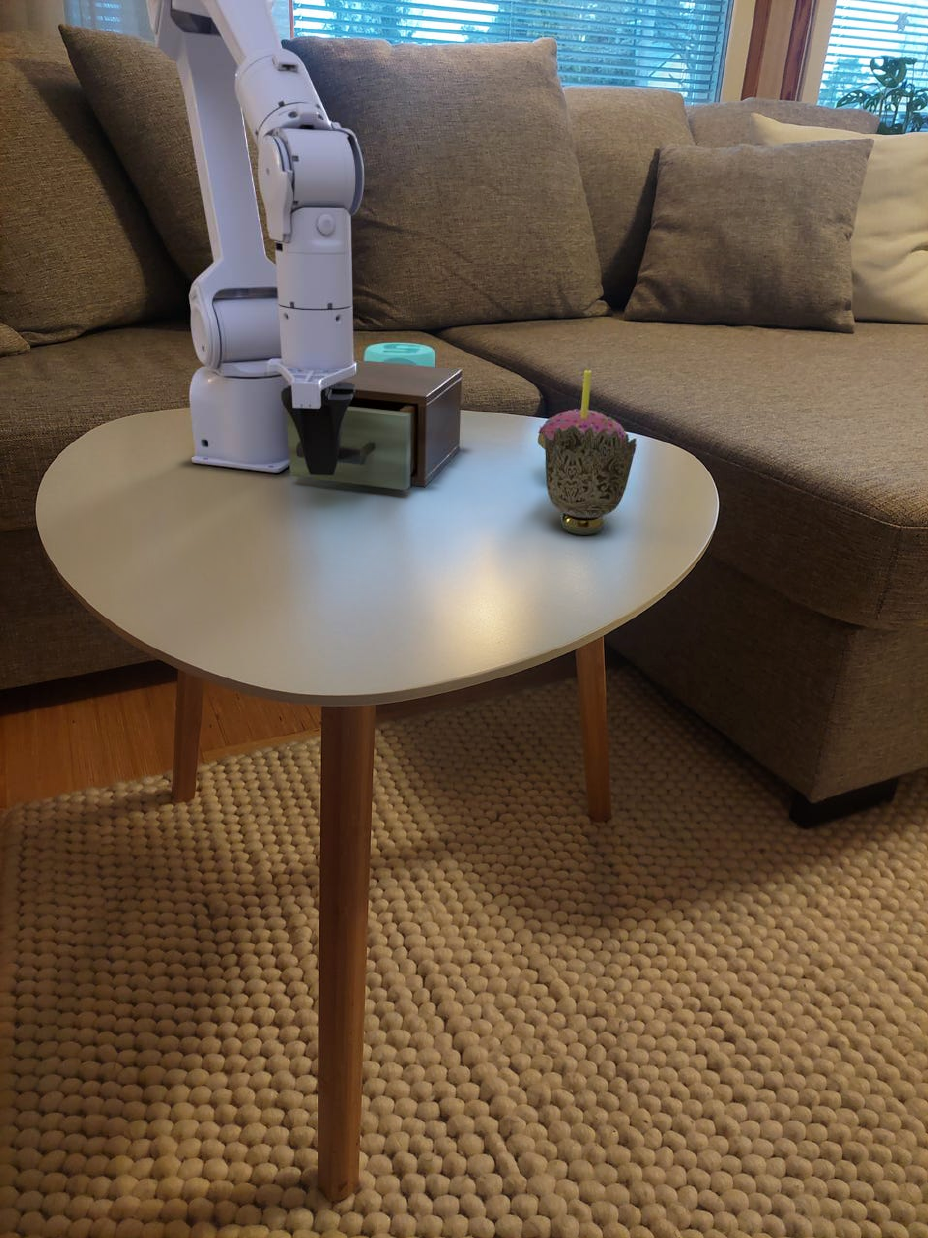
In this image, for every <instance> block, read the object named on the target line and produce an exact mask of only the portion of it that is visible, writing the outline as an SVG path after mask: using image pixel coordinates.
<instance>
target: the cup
mask: <svg viewBox="0 0 928 1238" xmlns="http://www.w3.org/2000/svg"><path fill="white" fill-rule="evenodd" d="M583 434H584V435H583ZM626 434H627V435H626V436H625V438H623V439H622V441H621V443H620V438H619V436H618V433H617V432H616V431H613V432H612V434H611V435H610V434H609V432H608V431H607V429H606V428H605V429H603V430H602V431H600V432H599V433H598V435H597V436H596V438H594V435H593V428H592V427H590V428H588V429H587V430H586V431H585V433H582V434H581V433H580V430H578V429H577V428H576V427H575V426H573V425H572V426H570V427H568V428H567V429H566V430H564V431H563V432H562V430H561V429H560V428H556V429H555V430H554V438H553V440H551V439H550V440H549V437H548V436H547V434H546V435H545V449H544V453H545V475H546V476H545V479H546V487H547V493H548V496H549V500H550V501H551V503H552V505H553V506H554V507H555V508H556V510H558V511H560V512H561V515H560V518H559V521H560V523H561V526H562V528H563V529H564V530H566V531H567V532H569V533H571V534H576V535H581V536H582V535H583V536H586V535H587V536H588V535H593V534H596V533H598V532H600V531H601V529H602V528H603V526H604V524H605V519H604V516H607V515H609V514H610V513H612V512H613V511H615V510H616V508H617V507H618V506H619V505H620V503H621V502H622V500H623V497H624V495H625V491H626V488H627V485H628V482H629V477H630V474H631V470H632V466H633V461H634V457H635V454H636V450H637V445H638V443H637V438H633V439H630V438H629V437H630V435H629V434H628V433H626Z"/></svg>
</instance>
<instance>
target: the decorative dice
mask: <svg viewBox="0 0 928 1238" xmlns="http://www.w3.org/2000/svg"><path fill="white" fill-rule="evenodd" d="M363 360H364V361H375V362H386V363H397V364H407V365H418V366H429V367H436V352H435V350H434V349H433V348H432V347H430V346H428V345H425V344H418V343H413V342H412V343H411V342H381V343H375V344H371V345H369V346H367V347H366V349H365V351H364V357H363Z"/></svg>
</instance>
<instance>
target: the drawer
mask: <svg viewBox="0 0 928 1238" xmlns="http://www.w3.org/2000/svg"><path fill="white" fill-rule="evenodd" d="M418 405H419V404H411V403H401V402H392V401H382V400H372V399H362V398H352V400H351V402H350V404H349V406H348V408H347V411H346V415H345V419H344V423H343V428H342V434H341V441H340V449H339V456H338V461H337V466H336V469H335V472H334V475H311V474H310V473H309V471H308V468H307V465H306V462H305V458H304V454H303V450H302V446H301V442H300V439H299V435H298V432H297V430H296V427H295V425H294V422H293V420H292V418H291V416H290V415H289V413H288V411H287V410H286V412H287V429H288V446H289V463H290V466H289V476H290V477H295V478H303V479H311V480H319V481H328V482H335V483H344V484H350V485H351V484H353V485H359V486H368V487H375V488H383V489H391V490H392V489H393V490H400V491H407V490H408V489H409V488H410V487H411V485H410V475H411V474H412V473H413V472H414V471H415V470H416V469H417V468H418Z"/></svg>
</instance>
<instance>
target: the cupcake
mask: <svg viewBox="0 0 928 1238" xmlns="http://www.w3.org/2000/svg"><path fill="white" fill-rule="evenodd" d="M590 365H591V362H590V361H588V362H587V365H586V369H585V370H584V371H583V372H584V373H583V381H582V393H581V405H580V408H575V409H570V410H568V411H566V410H565V411H564V412H560V413H556V414H555V415H554V416H552V417H549V418H548V419H547V420H546V422H545V423H544V424H543V425H542V426H539V431H538V437H537V444H538V445H539V446H540V447H542V448H543V450H545V435H546V434H547V436H548V437H549V440H550V439H551V440H553V438H554V430H555V429H556V428H560V429H561V430H562V432H563V431H564V430H566V429H567V428H568V427H570V426H572V425H573V426H575V427H576V428H577V429H578V430H580V433H581V434H582V433H585V431H586V430H587V429H588V428H590V427H592V428H593V435H594V438H596V436H597V435H598V433H599V432H600V431H602V430H603V429H605V428H606V429H607V431H608V432H609V434H610V435H611V434H612V432H613V431H616V432H617V433H618V436H619V438H620V443H621V441H622V439H623V438H625V436H626V435H627V434H628V433H627V432H626V428H625V427H623V425H622V424H621V423H619V420H616V419H614V418H612V417H611V416H607V415H606V414H605V413H603V412H601V411H599V412H598V411H597V410H592V409H589V404H590V391H591V383H592V370H591V369H590V367H591V366H590ZM583 435H584V434H583Z"/></svg>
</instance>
